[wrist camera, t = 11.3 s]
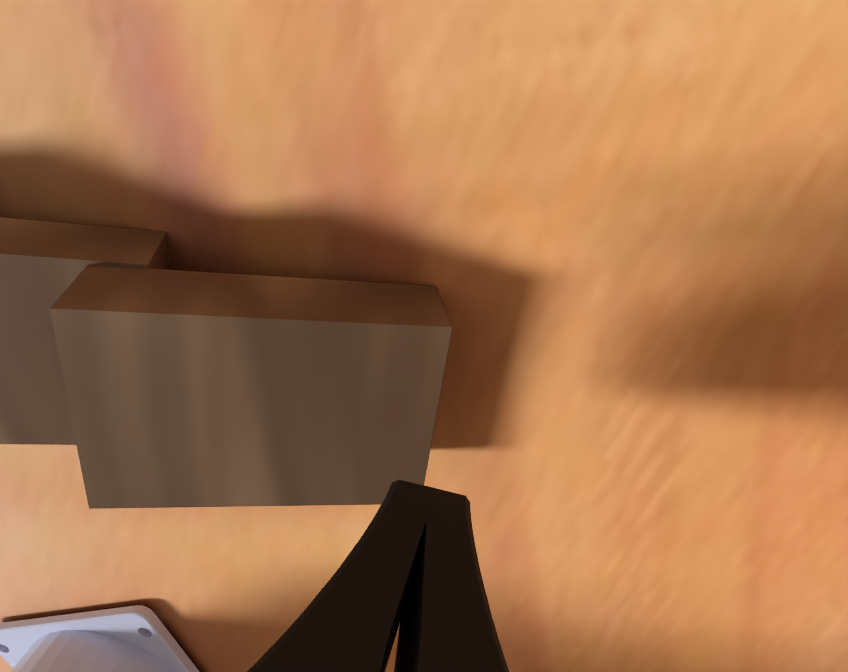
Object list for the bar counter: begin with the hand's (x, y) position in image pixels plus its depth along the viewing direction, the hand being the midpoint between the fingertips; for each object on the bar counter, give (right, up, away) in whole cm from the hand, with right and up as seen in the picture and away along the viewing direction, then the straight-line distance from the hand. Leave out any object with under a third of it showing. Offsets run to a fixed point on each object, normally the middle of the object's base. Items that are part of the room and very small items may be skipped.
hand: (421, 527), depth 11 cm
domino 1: (0, +2, +3) cm, 4 cm away
